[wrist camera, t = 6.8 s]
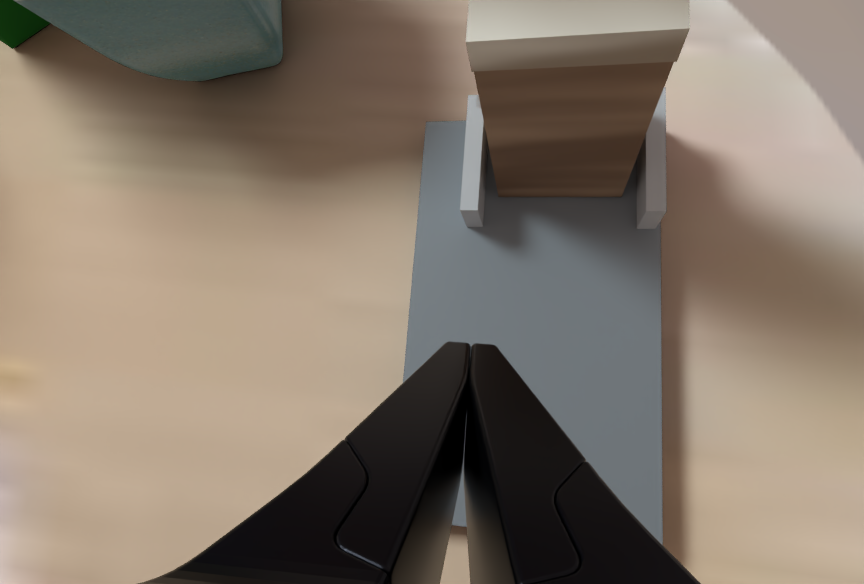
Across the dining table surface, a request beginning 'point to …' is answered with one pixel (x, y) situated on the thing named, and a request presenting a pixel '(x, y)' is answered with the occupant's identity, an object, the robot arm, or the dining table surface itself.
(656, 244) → the slate board
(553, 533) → the robot arm
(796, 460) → the dining table surface
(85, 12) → the flower pot
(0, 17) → the milk carton
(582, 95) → the block
